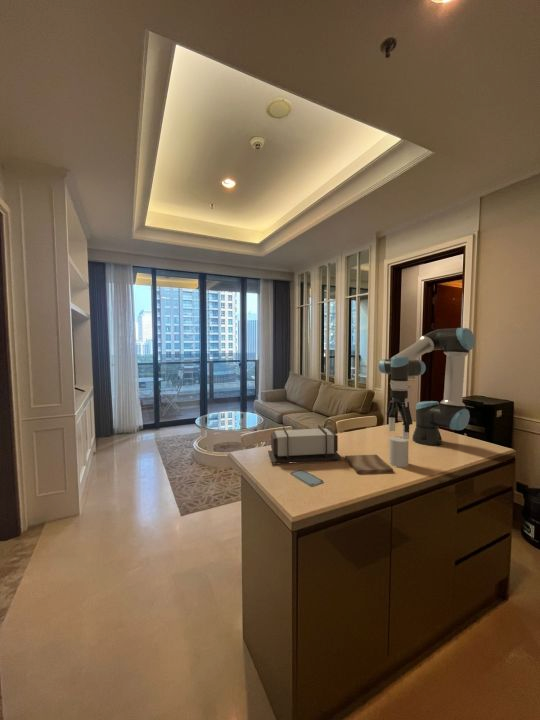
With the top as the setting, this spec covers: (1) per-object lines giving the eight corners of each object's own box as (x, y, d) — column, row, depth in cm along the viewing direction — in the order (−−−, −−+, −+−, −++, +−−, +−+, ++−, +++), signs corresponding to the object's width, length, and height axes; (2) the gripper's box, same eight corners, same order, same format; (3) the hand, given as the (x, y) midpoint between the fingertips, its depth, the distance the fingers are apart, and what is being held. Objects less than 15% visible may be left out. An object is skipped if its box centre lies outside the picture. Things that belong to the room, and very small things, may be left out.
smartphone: (302, 469, 138) (324, 481, 125) (302, 471, 138) (324, 483, 125) (288, 473, 134) (310, 485, 121) (288, 474, 134) (310, 487, 121)
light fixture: (342, 432, 147) (270, 435, 143) (342, 461, 148) (271, 465, 144) (332, 424, 162) (267, 426, 158) (332, 451, 163) (267, 454, 159)
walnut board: (376, 457, 152) (376, 454, 152) (393, 472, 134) (393, 469, 134) (344, 458, 151) (344, 455, 151) (357, 473, 133) (357, 470, 133)
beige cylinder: (408, 468, 138) (409, 442, 138) (389, 466, 141) (389, 440, 140) (407, 461, 146) (407, 437, 145) (389, 459, 149) (389, 435, 148)
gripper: (380, 386, 154) (379, 427, 155) (404, 393, 129) (403, 443, 130) (394, 386, 154) (393, 427, 155) (421, 393, 130) (420, 442, 130)
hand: (398, 434), depth 143 cm, fingers open, 13 cm apart
